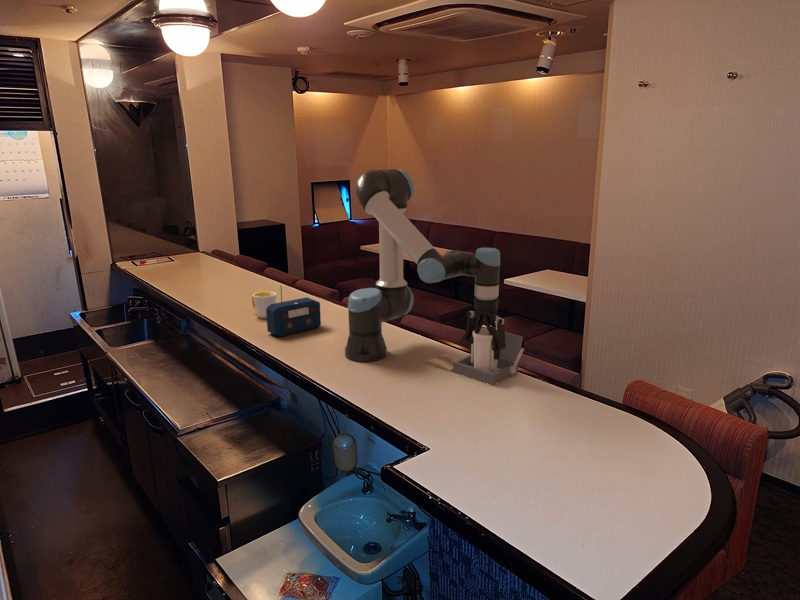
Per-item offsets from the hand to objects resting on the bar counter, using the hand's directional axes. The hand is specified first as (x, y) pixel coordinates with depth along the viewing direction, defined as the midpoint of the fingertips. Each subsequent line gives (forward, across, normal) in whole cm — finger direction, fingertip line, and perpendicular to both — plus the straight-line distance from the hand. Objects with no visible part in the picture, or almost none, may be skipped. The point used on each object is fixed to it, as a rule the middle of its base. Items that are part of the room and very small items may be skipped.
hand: (483, 364), depth 178 cm
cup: (+3, 0, 0) cm, 3 cm away
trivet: (+3, +14, +1) cm, 15 cm away
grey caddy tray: (+3, -1, -2) cm, 4 cm away
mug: (+3, +110, +14) cm, 111 cm away
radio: (+3, +82, +17) cm, 84 cm away
